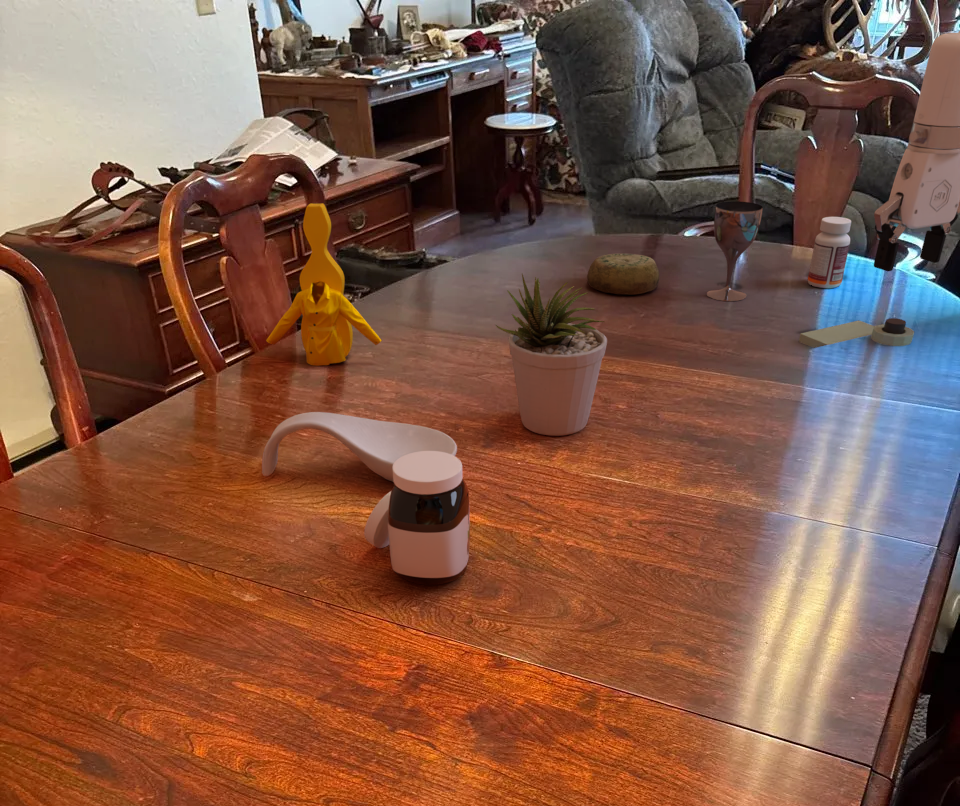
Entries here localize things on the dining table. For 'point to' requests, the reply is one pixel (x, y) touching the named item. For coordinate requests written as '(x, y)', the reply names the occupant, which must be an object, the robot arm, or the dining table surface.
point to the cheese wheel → (623, 274)
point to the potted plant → (554, 363)
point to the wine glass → (734, 239)
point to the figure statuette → (322, 300)
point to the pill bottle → (830, 253)
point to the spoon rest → (362, 439)
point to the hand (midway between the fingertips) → (906, 264)
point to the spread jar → (424, 519)
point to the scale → (855, 335)
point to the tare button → (894, 326)
